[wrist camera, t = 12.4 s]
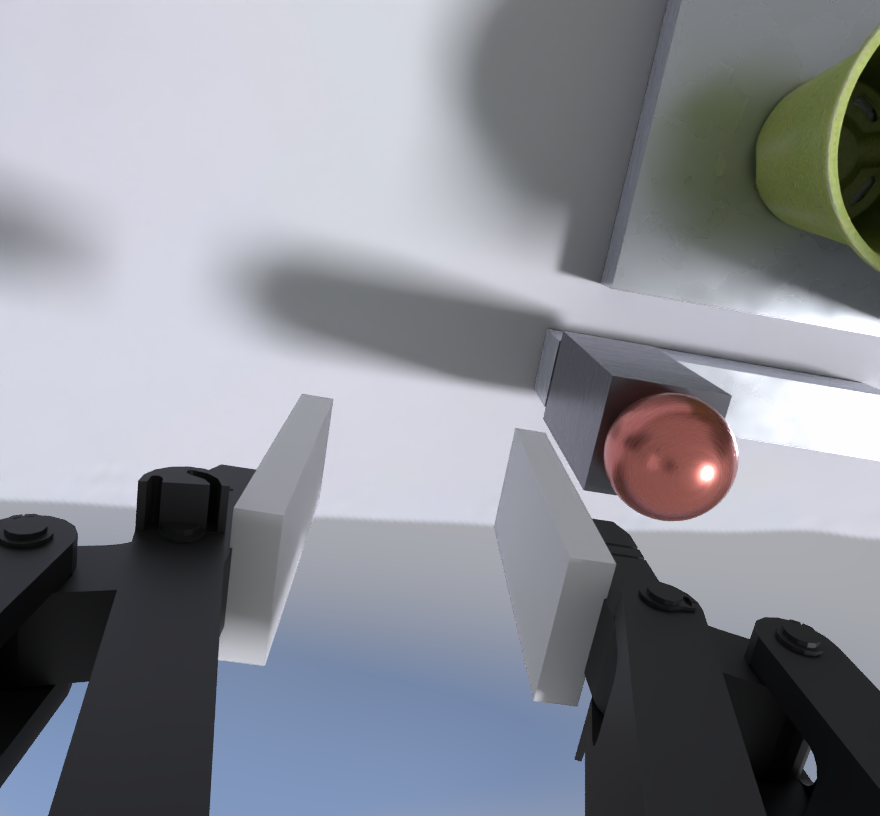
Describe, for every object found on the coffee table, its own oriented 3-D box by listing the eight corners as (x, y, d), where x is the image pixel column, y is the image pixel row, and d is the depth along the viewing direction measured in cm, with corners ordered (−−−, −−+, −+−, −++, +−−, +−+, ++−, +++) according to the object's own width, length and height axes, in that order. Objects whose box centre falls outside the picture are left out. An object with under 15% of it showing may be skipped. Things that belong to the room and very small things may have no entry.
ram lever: (543, 418, 31) (608, 533, 21) (563, 330, 30) (643, 403, 19) (630, 433, 32) (739, 553, 21) (653, 346, 30) (780, 426, 20)
